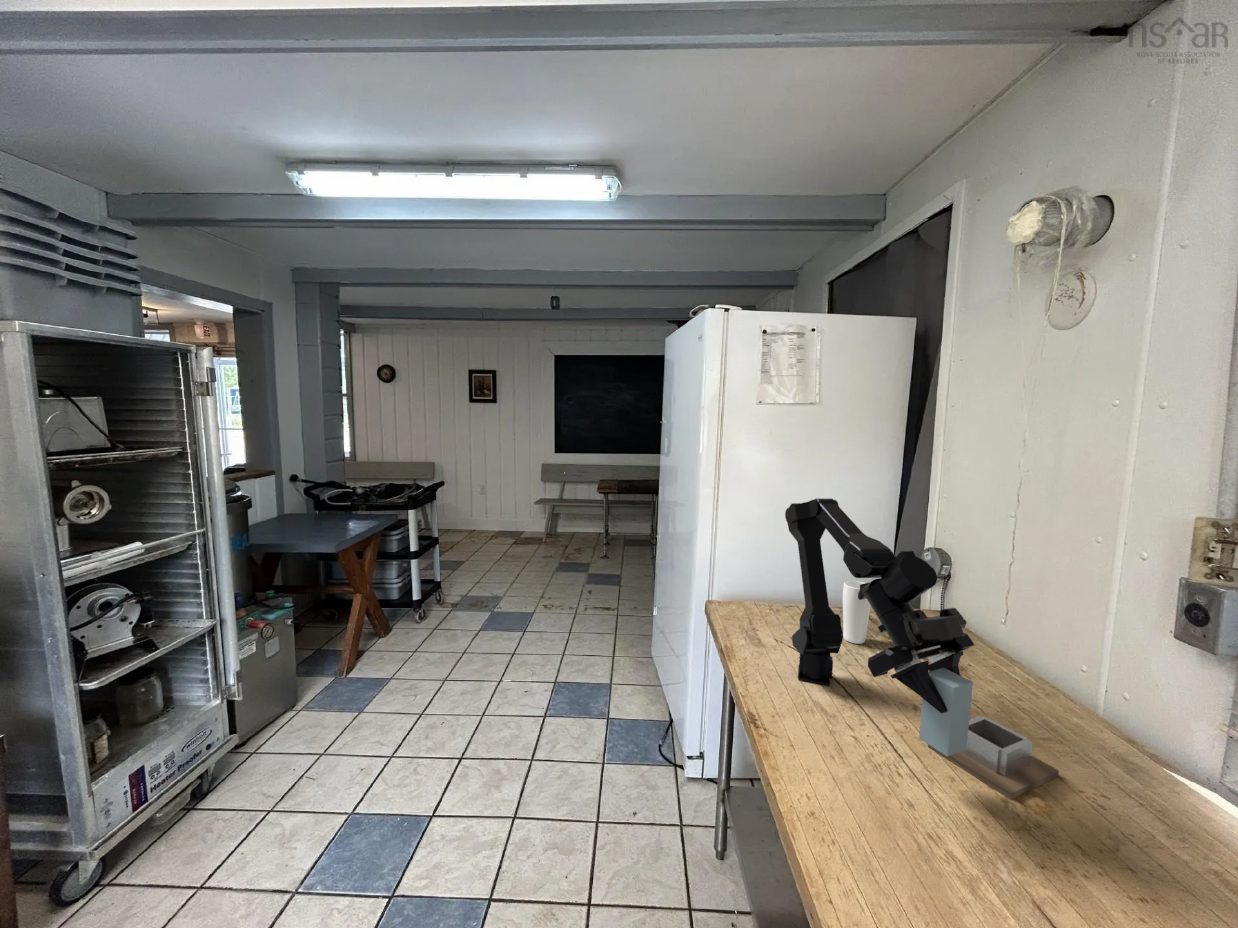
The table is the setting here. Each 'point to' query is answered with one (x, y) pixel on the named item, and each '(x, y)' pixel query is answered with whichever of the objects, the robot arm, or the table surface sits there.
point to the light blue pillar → (947, 713)
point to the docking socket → (1001, 758)
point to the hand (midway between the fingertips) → (955, 708)
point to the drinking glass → (854, 613)
